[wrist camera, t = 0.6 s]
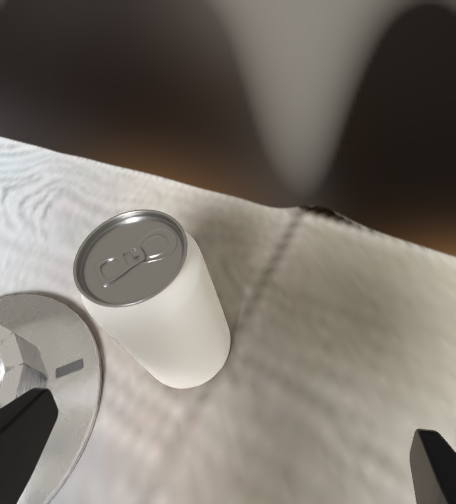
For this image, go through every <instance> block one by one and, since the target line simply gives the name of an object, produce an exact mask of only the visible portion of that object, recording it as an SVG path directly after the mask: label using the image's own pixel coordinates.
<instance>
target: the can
mask: <svg viewBox="0 0 456 504" xmlns="http://www.w3.org/2000/svg"><path fill="white" fill-rule="evenodd" d="M73 275H74V280H75V284H76V286H77V288H78V290H79V291H80V293H81V298H82V301H83V304H84V306H85V308H86V310H87V311H88V312H89V314H90V315H91V316H92V317H93V319H94V320H95V321H96V322H97V323H98V324H99V325H100V326H101V327H102V328H103V329H104V330H105V331H106V332H107V333H108V334H109V335H110V336H111V337H112V338H114V339H115V340H116V341H117V342H118V343H119V344H120V345H121V346H122V347H123V348H124V349H125V350H126V351H127V352H128V353H129V354H130V355H131V356H132V357H133V358H134V359H135V360H136V361H138V362H139V363H140V364H141V365H142V366H143V367H144V368H145V369H146V370H147V371H148V372H149V373H150V374H151V375H152V376H154V377H155V378H156V379H157V380H158V381H160V382H161V383H163V384H165V385H167V386H170V387H173V388H180V389H185V388H192V387H196V386H199V385H201V384H203V383H205V382H207V381H209V380H210V379H211V378H213V377H214V376H215V375H216V374H217V373H218V372H219V371H220V369H221V368H222V367H223V365H224V363H225V362H226V359H227V357H228V354H229V350H230V342H231V340H230V331H229V327H228V324H227V321H226V318H225V315H224V313H223V310H222V307H221V304H220V302H219V299H218V296H217V293H216V291H215V288H214V285H213V282H212V280H211V277H210V274H209V271H208V269H207V266H206V263H205V261H204V258H203V256H202V253H201V251H200V249H199V247H198V245H197V243H196V242H195V240H194V239H193V238H192V237H191V236H190V235H189V234H188V233H187V232H186V231H185V230H183V228H182V226H181V225H180V224H179V223H178V222H177V221H176V220H175V219H174V218H173V217H171V216H169V215H167V214H165V213H163V212H160V211H155V210H134V211H129V212H125V213H122V214H119V215H117V216H115V217H112V218H110V219H109V220H107V221H105V222H104V223H102V224H101V225H99V226H98V227H97V228H96V229H94V230H93V231H92V232H91V233H90V234H89V235H88V236H87V238H86V239H85V240H84V242H83V243H82V245H81V246H80V248H79V250H78V252H77V254H76V257H75V261H74V266H73Z"/></svg>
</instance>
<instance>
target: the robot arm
mask: <svg viewBox="0 0 456 504" xmlns="http://www.w3.org/2000/svg"><path fill="white" fill-rule="evenodd" d="M57 418H58V407H57V404H56V402H55V399H54V397H53V394H52V392H51V390H49V389H48V388H40V387H35V388H32V389H30V390H29V391H27V392H25V393H24V394H22V395H21V396H19V397H18V398H16V399H14V400H13V401H11V402H10V403H8V404H7V405H5V406H3V407H2V408H0V504H17V502H18V500H19V499H20V497H21V495H22V493H23V491H24V490H25V488H26V486H27V484H28V482H29V480H30V478H31V476H32V474H33V472H34V470H35V468H36V465H37V463H38V461H39V459H40V457H41V454H42V452H43V450H44V448H45V445H46V443H47V441H48V439H49V436H50V434H51V432H52V430H53V427H54V425H55V423H56V421H57ZM410 466H411V472H412V478H413V484H414V490H415V496H416V502H417V504H456V452H455V451H454V450H453V449H452V448H451V446H450V445H449V444H448V443H447V442H446V440H445V439H444V438H443V437H442V436H441V435H440V434H439V433H438V432H437V431H434V430H427V429H417V430H416V431H415V433H414V437H413V442H412V446H411V450H410Z"/></svg>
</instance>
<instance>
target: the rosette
mask: <svg viewBox="0 0 456 504" xmlns="http://www.w3.org/2000/svg"><path fill="white" fill-rule="evenodd" d="M35 387H40V388H48V389H49V390H51V392H52V394H53V397H54V399H55V402H56V404H57V407H58V418H57V421H56V423H55V425H54V427H53V430H52V432H51V434H50V436H49V439H48V441H47V443H46V445H45V448H44V450H43V452H42V454H41V457H40V459H39V461H38V463H37V465H36V468H35V470H34V472H33V474H32V476H31V478H30V480H29V482H28V484H27V486H26V488H25V490H24V491H23V493H22V495H21V497H20V499H19V500H18V502H17V504H49V503H50V501H51V500H52V499H53V498H54V496H55V495H56V494H57V493H58V491H59V490H60V489H61V488H62V486H63V485H64V483H65V482H66V480H67V479H68V477H69V476H70V474H71V473H72V471H73V470H74V468H75V466H76V464H77V462H78V460H79V459H80V457H81V455H82V453H83V451H84V449H85V447H86V444H87V442H88V440H89V437H90V435H91V432H92V430H93V427H94V423H95V420H96V416H97V413H98V409H99V403H100V398H101V390H102V365H101V358H100V353H99V349H98V346H97V343H96V341H95V338H94V336H93V334H92V332H91V331H90V329H89V327H88V326H87V324H86V323H85V322H84V321H83V320H82V319H81V317H80V316H79V315H77V314H76V313H75V312H74V311H73V310H71V309H70V308H69V307H68V306H66V305H65V304H63V303H61V302H59V301H57V300H55V299H52V298H49V297H46V296H41V295H35V294H16V295H8V296H3V297H0V408H2V407H3V406H5V405H7V404H8V403H10V402H11V401H13V400H14V399H16V398H18V397H19V396H21V395H22V394H24V393H25V392H27V391H29V390H30V389H32V388H35Z"/></svg>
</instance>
